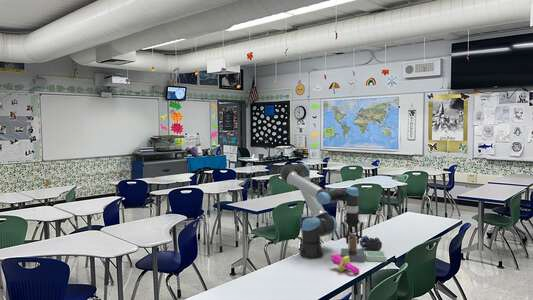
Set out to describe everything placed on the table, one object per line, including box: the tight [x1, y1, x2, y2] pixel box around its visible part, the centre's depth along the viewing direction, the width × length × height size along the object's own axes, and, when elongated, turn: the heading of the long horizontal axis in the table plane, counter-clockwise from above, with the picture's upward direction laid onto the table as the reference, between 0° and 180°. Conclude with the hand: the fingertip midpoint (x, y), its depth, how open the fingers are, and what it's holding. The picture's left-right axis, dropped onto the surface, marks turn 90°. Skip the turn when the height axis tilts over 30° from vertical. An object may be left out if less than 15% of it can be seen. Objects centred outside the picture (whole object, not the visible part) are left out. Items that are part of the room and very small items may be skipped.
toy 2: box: [359, 235, 383, 251], centre depth 276 cm, size 9×9×15 cm
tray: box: [364, 250, 388, 263], centre depth 259 cm, size 12×10×3 cm
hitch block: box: [340, 247, 366, 263], centre depth 261 cm, size 14×14×4 cm
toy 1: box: [331, 253, 360, 274], centre depth 239 cm, size 10×18×10 cm, turn 49°
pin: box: [349, 233, 357, 253], centre depth 261 cm, size 5×5×15 cm
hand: (352, 248), depth 261 cm, fingers closed on pin, 4 cm apart
